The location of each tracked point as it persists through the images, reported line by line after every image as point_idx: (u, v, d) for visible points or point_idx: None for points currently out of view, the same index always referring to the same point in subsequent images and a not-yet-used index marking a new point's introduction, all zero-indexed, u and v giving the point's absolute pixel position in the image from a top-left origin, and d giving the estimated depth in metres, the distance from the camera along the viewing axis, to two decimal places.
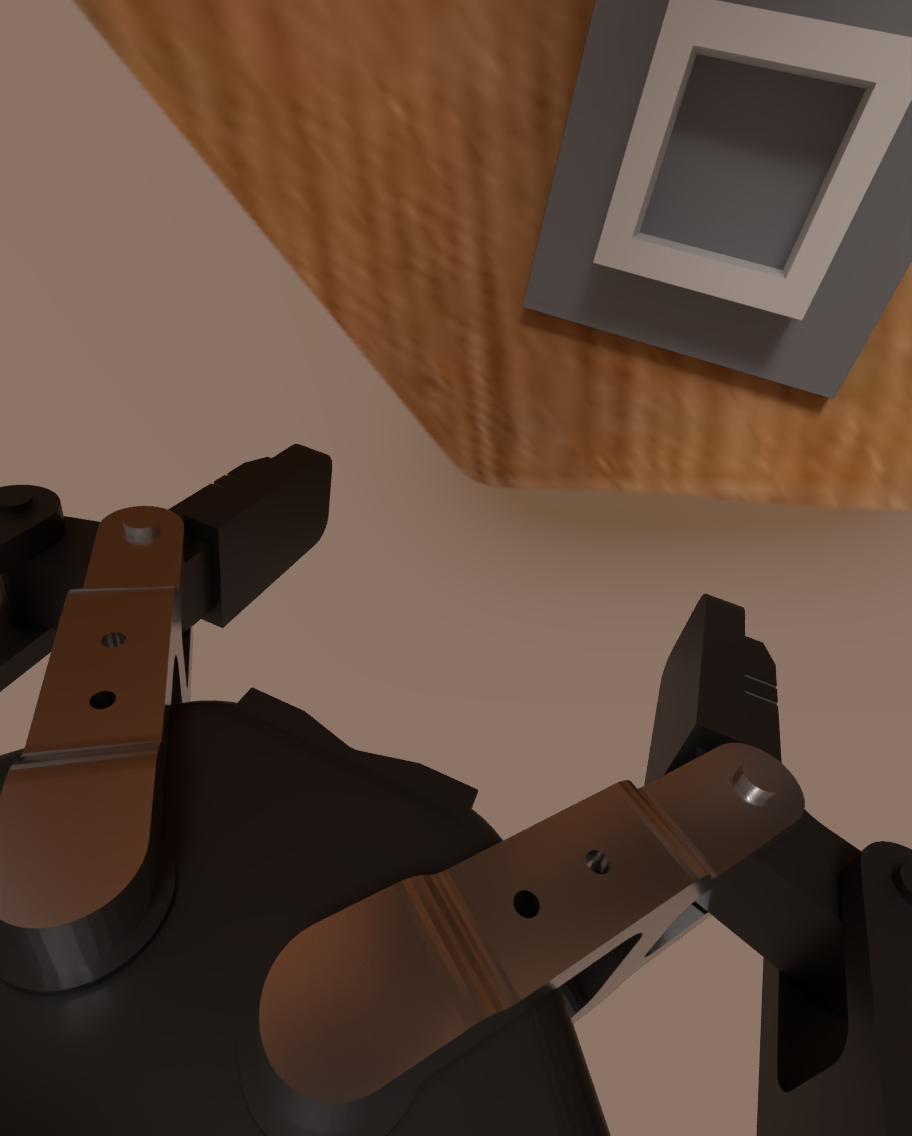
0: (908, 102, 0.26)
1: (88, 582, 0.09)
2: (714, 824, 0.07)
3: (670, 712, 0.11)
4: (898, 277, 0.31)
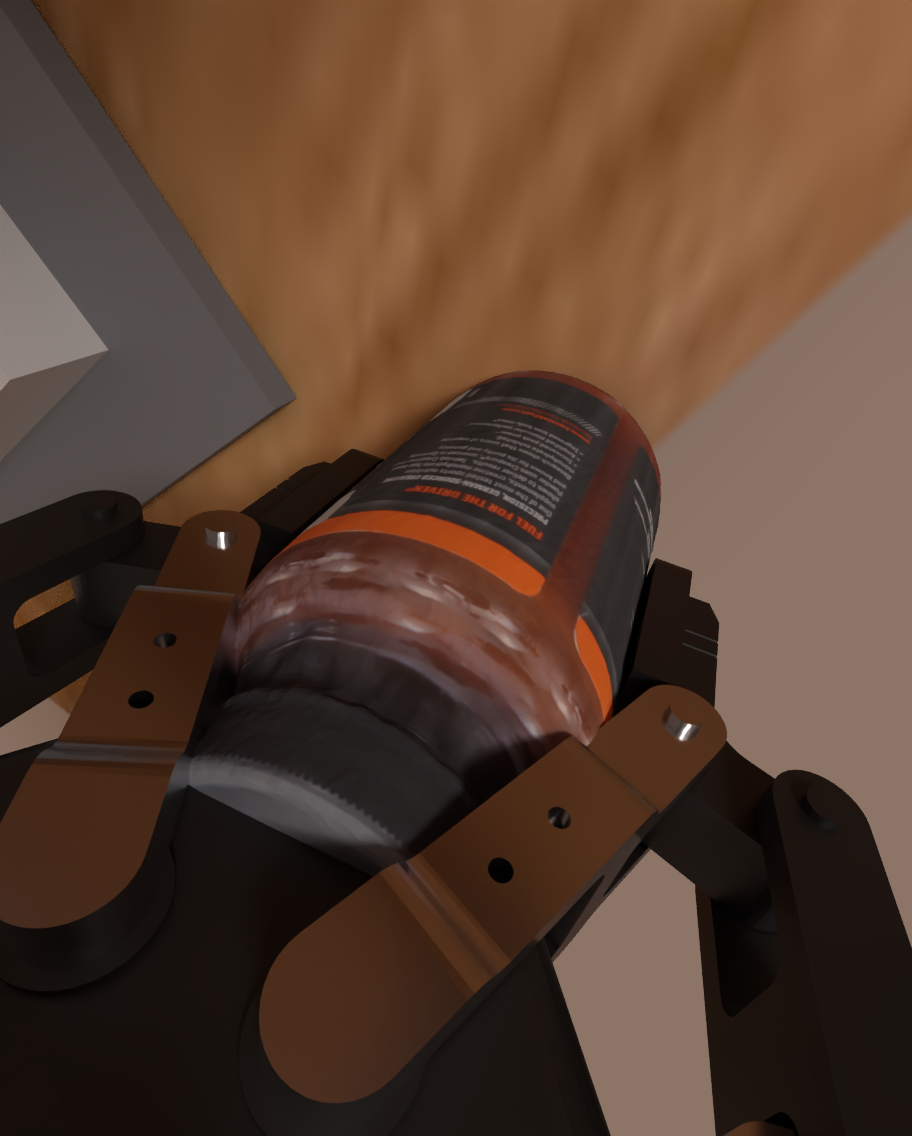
0: None
1: (160, 579, 0.09)
2: (653, 763, 0.08)
3: None
4: None
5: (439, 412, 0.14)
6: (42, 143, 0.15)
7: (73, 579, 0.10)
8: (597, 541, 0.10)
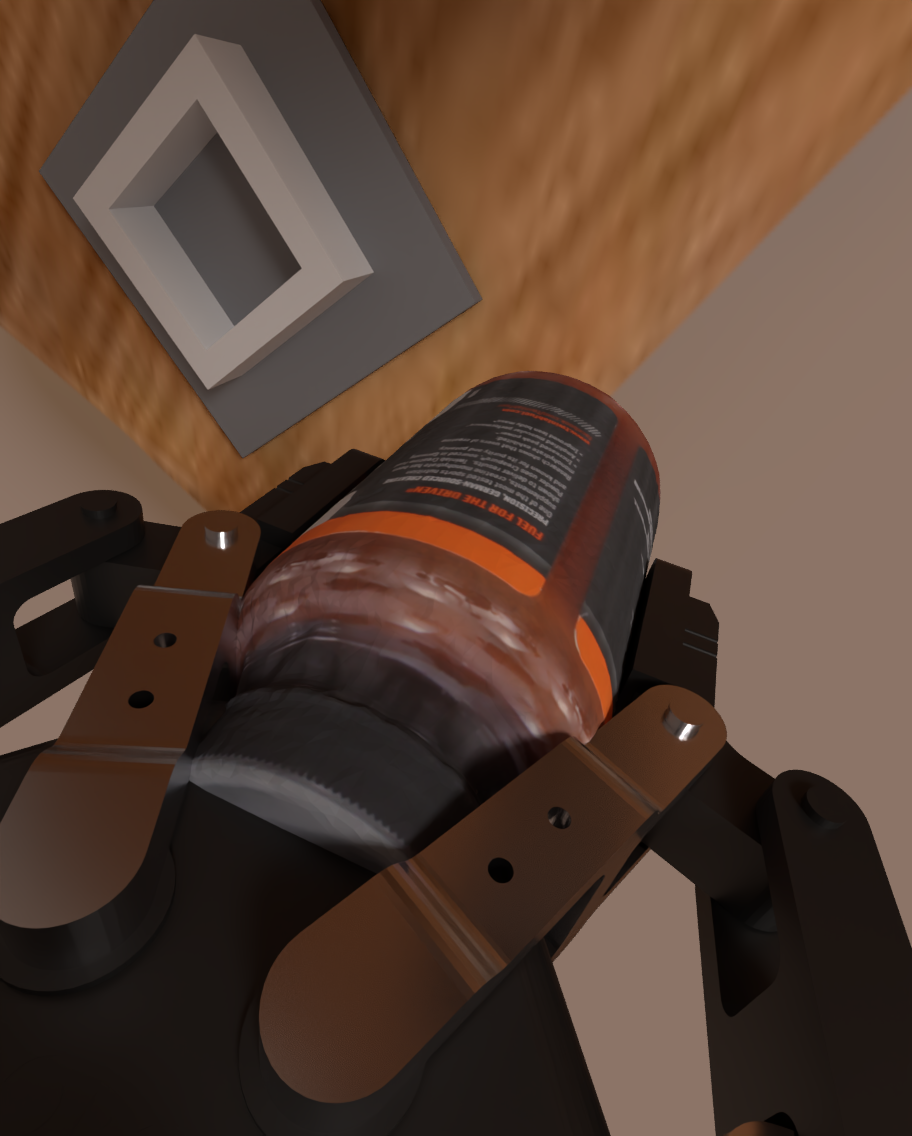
0: (314, 302, 0.29)
1: (160, 579, 0.09)
2: (653, 763, 0.08)
3: None
4: (307, 411, 0.36)
5: (439, 413, 0.14)
6: (363, 155, 0.28)
7: (73, 579, 0.10)
8: (597, 541, 0.10)
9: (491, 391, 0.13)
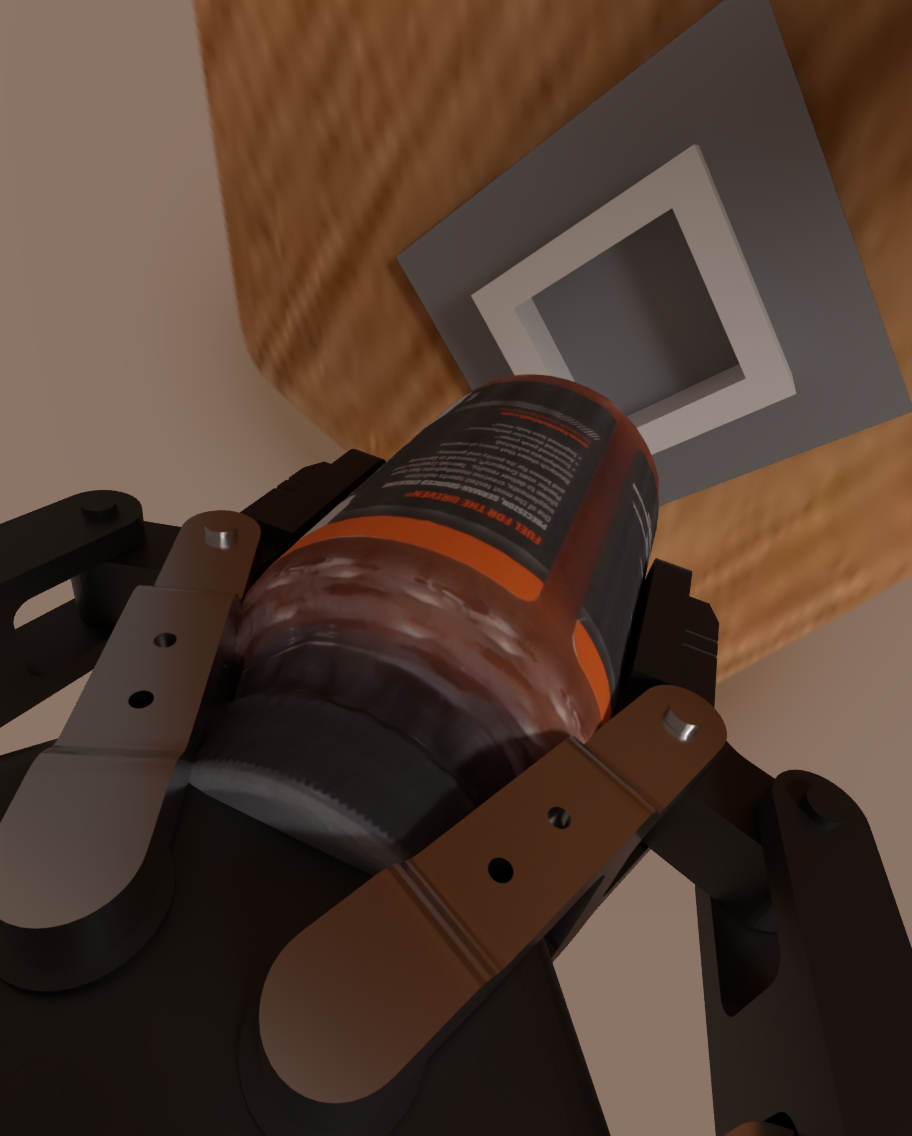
0: (749, 412, 0.28)
1: (160, 579, 0.09)
2: (652, 763, 0.08)
3: None
4: None
5: (438, 416, 0.14)
6: (819, 260, 0.27)
7: (73, 579, 0.10)
8: (595, 545, 0.10)
9: (490, 394, 0.13)
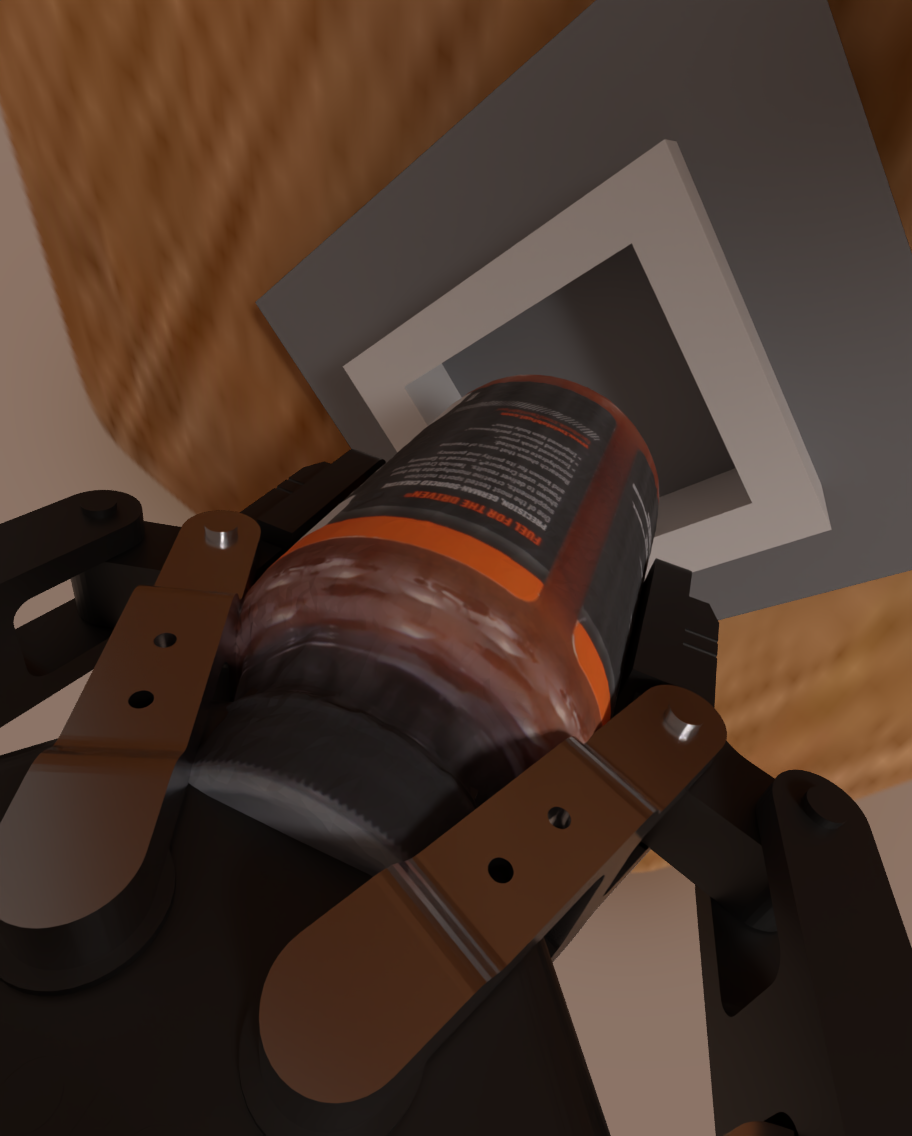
0: (757, 550, 0.18)
1: (160, 579, 0.09)
2: (653, 763, 0.08)
3: None
4: None
5: (438, 416, 0.14)
6: (867, 321, 0.17)
7: (73, 579, 0.10)
8: (595, 546, 0.10)
9: (490, 394, 0.13)
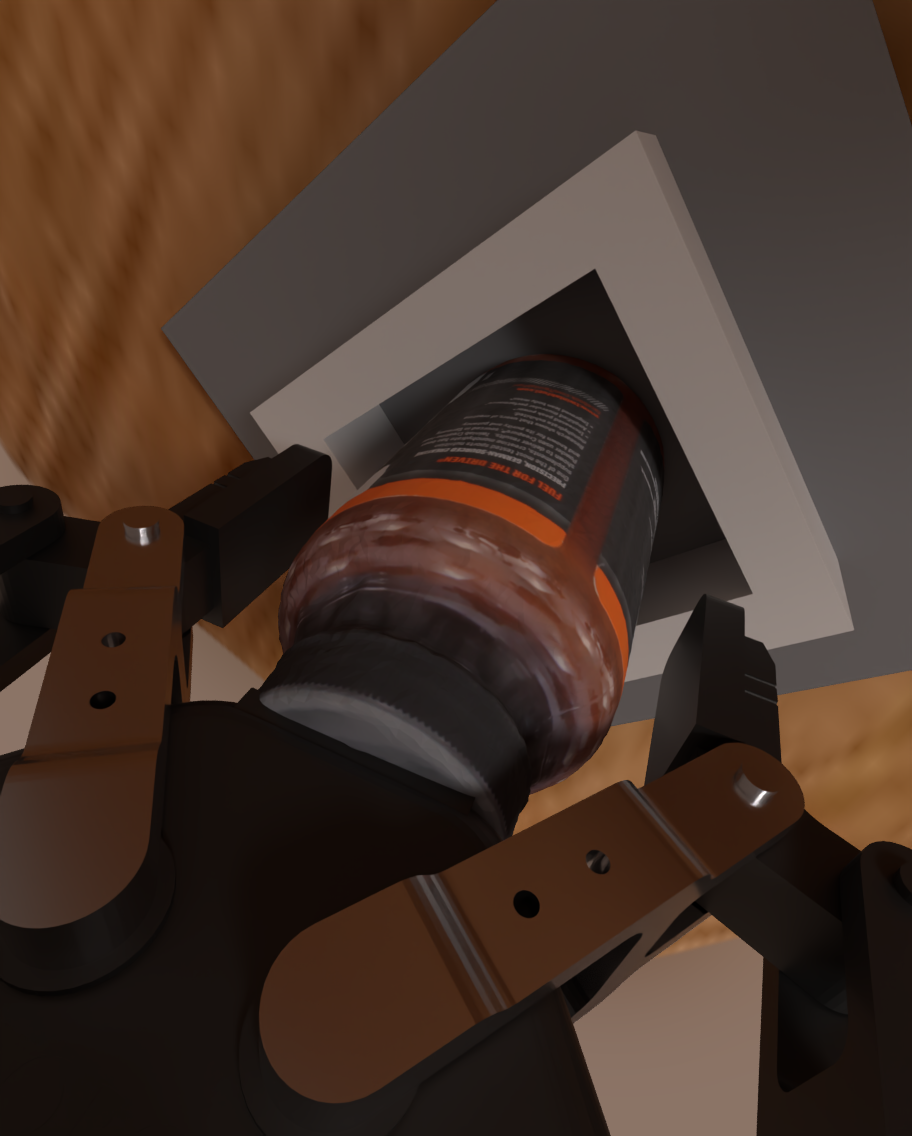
0: None
1: (88, 581, 0.09)
2: (714, 824, 0.07)
3: (670, 712, 0.11)
4: None
5: None
6: (900, 365, 0.13)
7: None
8: (609, 503, 0.11)
9: (505, 373, 0.14)
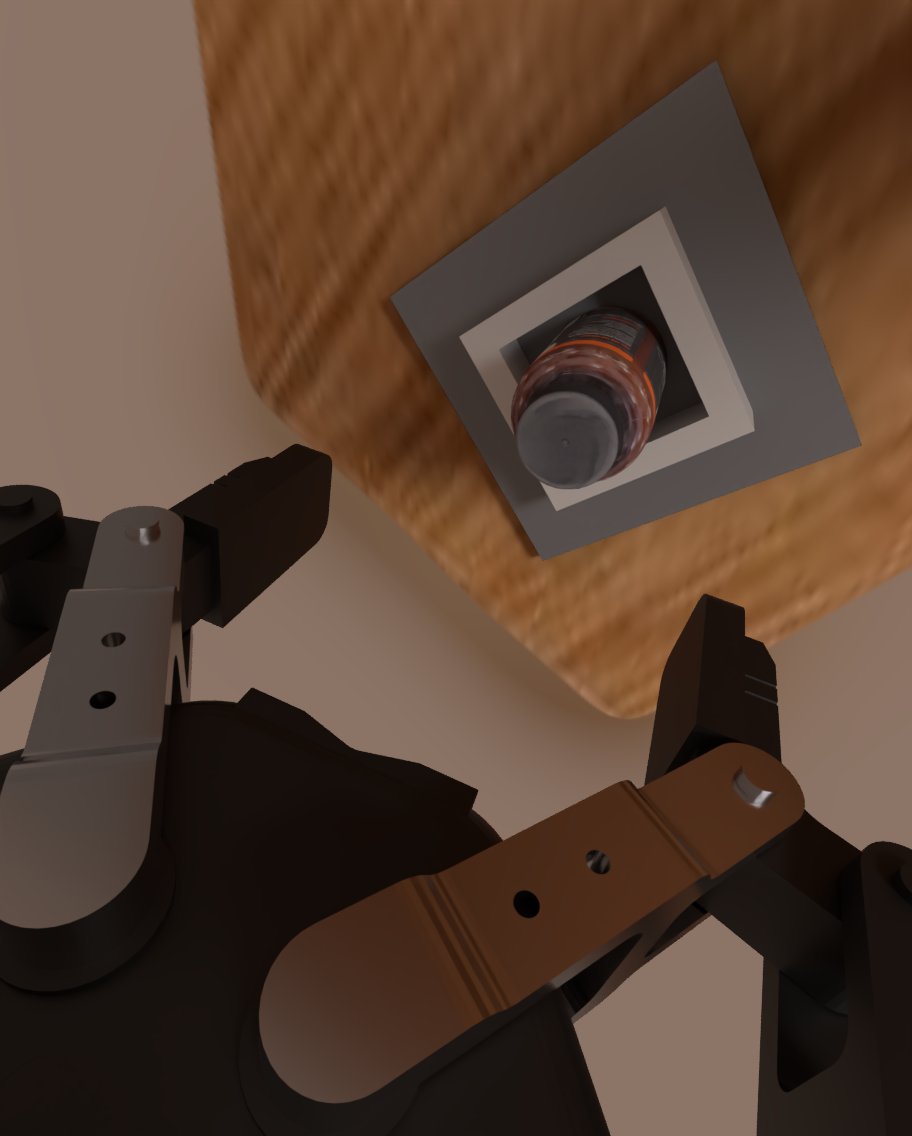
0: (712, 446, 0.30)
1: (87, 582, 0.09)
2: (714, 825, 0.07)
3: (670, 712, 0.11)
4: (632, 525, 0.37)
5: (568, 325, 0.31)
6: (774, 310, 0.29)
7: None
8: (646, 357, 0.27)
9: (593, 313, 0.30)
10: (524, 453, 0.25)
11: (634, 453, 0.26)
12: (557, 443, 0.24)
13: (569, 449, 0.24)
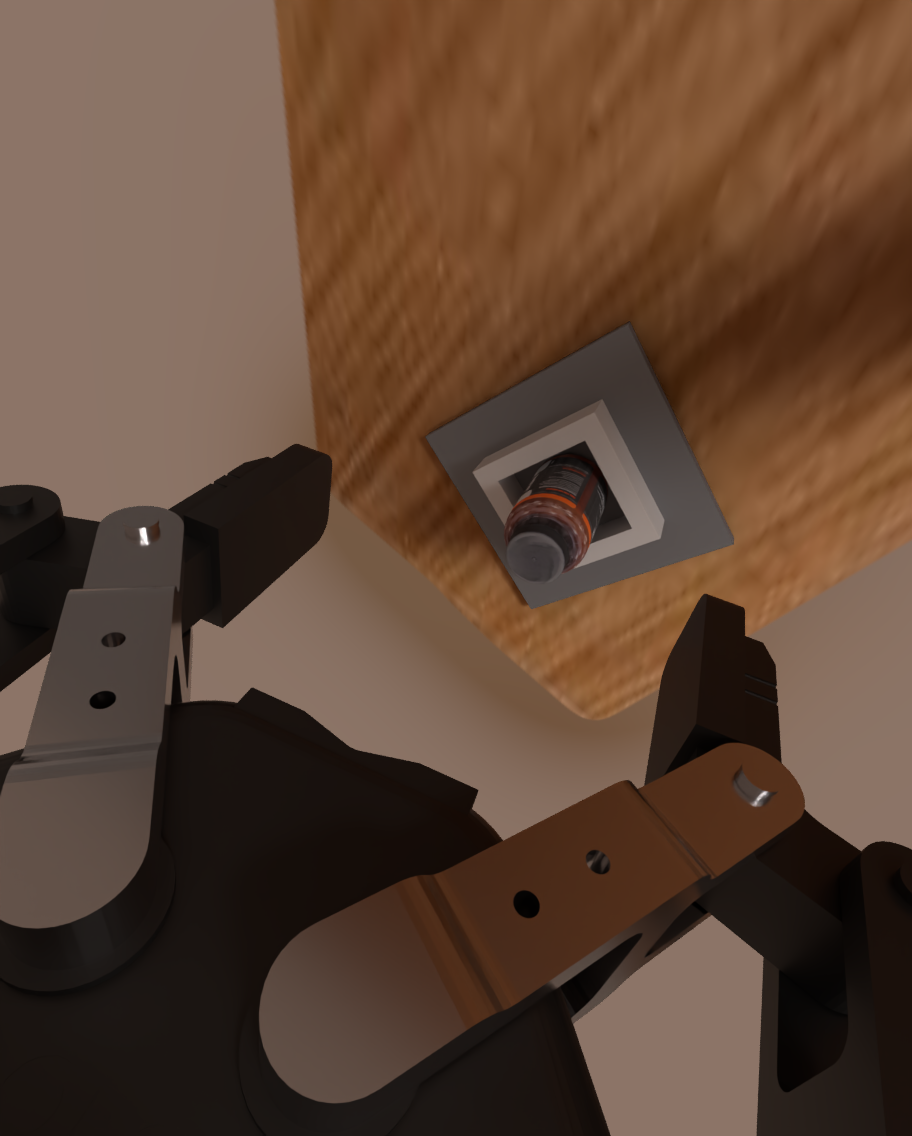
0: (635, 546, 0.47)
1: (87, 581, 0.09)
2: (714, 824, 0.07)
3: (670, 712, 0.11)
4: (591, 588, 0.54)
5: (542, 467, 0.48)
6: (673, 462, 0.46)
7: None
8: (587, 499, 0.44)
9: (558, 461, 0.47)
10: (510, 563, 0.42)
11: (578, 560, 0.43)
12: (530, 559, 0.41)
13: (537, 562, 0.41)
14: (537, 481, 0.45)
